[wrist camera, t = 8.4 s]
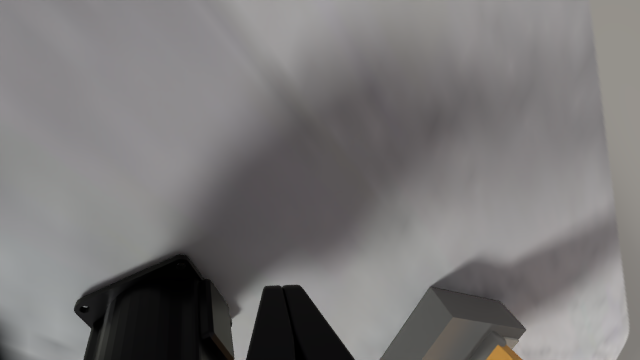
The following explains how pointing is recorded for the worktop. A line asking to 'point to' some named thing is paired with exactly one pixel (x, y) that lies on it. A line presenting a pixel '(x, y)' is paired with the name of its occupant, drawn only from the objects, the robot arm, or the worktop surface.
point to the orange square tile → (494, 349)
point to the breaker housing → (452, 327)
